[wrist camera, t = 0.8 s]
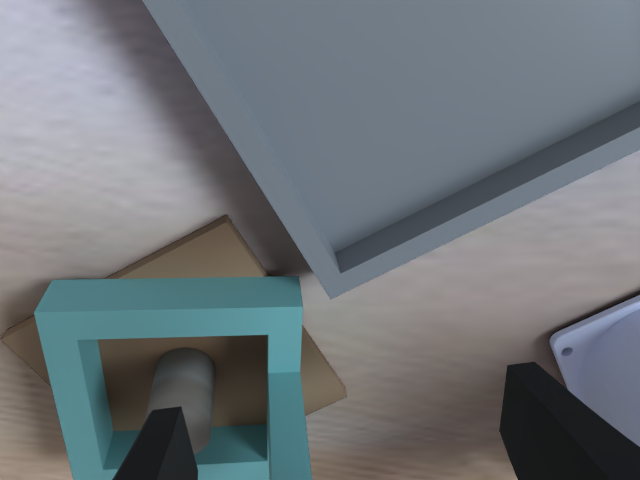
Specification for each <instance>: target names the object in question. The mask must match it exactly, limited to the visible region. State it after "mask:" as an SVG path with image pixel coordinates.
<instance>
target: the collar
mask: <svg viewBox="0 0 640 480" xmlns="http://www.w3.org/2000/svg"><path fill="white" fill-rule="evenodd" d="M34 315H35V320H36V324H37V328H38V332H39V336H40V341H41V345H42V349H43V353H44V357H45V362H46V366H47V370H48V374H49V379H50V383H51V387H52V391H53V395H54V400H55V404H56V408H57V412H58V416H59V421H60V425H61V429H62V433H63V438H64V442H65V446H66V450H67V454H68V459H69V463H70V467H71V471H72V475H73V480H112V479H113V478H114V476H115V474H116V473H117V471H118V469H119V468H120V466H121V464H122V463H123V461H124V459H125V457H126V456H127V454H128V452H129V450H130V449H131V447H132V445H133V443H134V441H135V440H136V438H137V436H138V434H139V432H140V430H131V431H113V426H112V421H111V415H110V409H109V404H108V398H107V392H106V387H105V381H104V375H103V369H102V364H101V358H100V352H99V347H98V341H97V339H129V338H166V337H203V336H240V335H267V416H266V424H263V425H241V426H219V427H211V437H210V440H209V443H208V444H207V446H206V447H205V448H204V449H203V450H201V451H200V452H198V453H196V454H194V457H195V461H196V464H197V468H198V480H312V476H311V466H310V457H309V448H308V439H307V430H306V421H305V412H304V403H303V394H302V384H301V375H300V363H301V340H302V316H303V304H302V296H301V289H300V282H299V276H277V277H210V278H143V279H76V280H52V281H51V283H50V285H49V287H48V288H47V290H46V292H45V294H44V295H43V297H42V299H41V301H40V302H39V304H38V306H37V308H36V309H35V311H34Z"/></svg>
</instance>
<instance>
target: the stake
mask: <svg viewBox="0 0 640 480" xmlns="http://www.w3.org/2000/svg"><path fill="white" fill-rule="evenodd" d="M210 277H269V275H268V274H267V272H266V271H265V270H264V268H263V267H262V265H261V264H260V262H259V261H258V259H257V258H256V256H255V255H254V253H253V252H252V251H251V249H250V248H249V246H248V245H247V243H246V242H245V240H244V239H243V237H242V236H241V234H240V233H239V232H238V230H237V229H236V227H235V226H234V224H233V223H232V221H231V220H230V218H229V217H228V215H226V216H224V217H222V218H220V219H218V220H216V221H214V222H212V223H210V224H208V225H206V226H205V227H203V228H201V229H199V230H197V231H195V232H193V233H191V234H189V235H187V236H185V237H183V238H182V239H180V240H178V241H176V242H174V243H172V244H170V245H168V246H166V247H164V248H162V249H161V250H159V251H157V252H155V253H153V254H151V255H149V256H147V257H145V258H143V259H141V260H140V261H138V262H136V263H134V264H132V265H130V266H128V267H126V268H124V269H122V270H120V271H119V272H117V273H115V274H113V275H111V276H109V277H107V278H105V279H143V278H210ZM1 340H2V341H3V342H4V343H5V344H6V345H7V346H8V347H9V348H10V349H11V350H12V351H13V352H15V353H16V354H17V355H18V356H19V357H20V358H21V359H22V360H23V361H24V362H25V363H26V364H27V365H28V366H30V367H31V368H32V369H33V370H34V371H35V372H36V373H37V374H38V375H39V376H40V377H41V378H42V379H43V380H45V381H46V382H47V383H48V384H49V385H50V386H51V383H50V379H49V374H48V370H47V366H46V362H45V357H44V353H43V349H42V345H41V341H40V336H39V332H38V328H37V324H36V320H35V315H34V316H32V317H31V318H29V319H27V320H25V321H23V322H21V323H19V324H17V325H15V326H13V327H11V328H10V329H8V330H6V332H5V334H4V335H3V337H2V339H1ZM97 341H98V347H99V352H100V358H101V364H102V369H103V375H104V381H105V387H106V392H107V398H108V404H109V409H110V415H111V421H112V426H113V431H131V430H141V428H142V426H143V425H144V423H145V421H146V419H147V417H148V415H149V414H150V413H151V411H152V410H156V409H164V408H172V407H180V406H181V407H182V410H183V414H184V418H185V422H186V426H187V430H188V434H189V437H190V441H191V445H192V449H193V453H194V454H196V453H198V452H200V451H201V450H203V449H204V448H205V447H206V446H207V444H208V443H209V440H210V437H211V427H219V426H241V425H263V424H266V416H267V335H240V336H203V337H166V338H129V339H97ZM300 375H301V384H302V394H303V403H304V412H305V416H306V415H308V414H310V413H312V412H314V411H317V410H319V409H321V408H323V407H325V406H328V405H330V404H332V403H334V402H336V401H339V400H341V399H343V398H345V397H347V395H346V390H345V386H344V385H343V384H342V382H341V381H340V379H339V378H338V376H337V375H336V373H335V372H334V370H333V369H332V367H331V366H330V365H329V363H328V362H327V360H326V359H325V357H324V356H323V354H322V353H321V351H320V350H319V348H318V347H317V346H316V344H315V343H314V341H313V340H312V338H311V337H310V335H309V334H308V332H307V331H306V329H305V328H304V327H303V325H302V340H301V363H300Z"/></svg>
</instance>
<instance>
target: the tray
mask: <svg viewBox="0 0 640 480" xmlns="http://www.w3.org/2000/svg"><path fill="white" fill-rule="evenodd" d="M142 1H143V3H144V4H145V6H146V7H147V9H148V11H149V12H150V14H151V15H152V17H153V18H154V20H155V22H156V23H157V25H158V26H159V28H160V30H161V31H162V33H163V34H164V36H165V38H166V39H167V41H168V42H169V44H170V45H171V47H172V49H173V50H174V52H175V53H176V55H177V57H178V58H179V60H180V61H181V63H182V65H183V66H184V68H185V69H186V71H187V72H188V74H189V76H190V77H191V79H192V80H193V82H194V84H195V85H196V87H197V88H198V90H199V91H200V93H201V95H202V96H203V98H204V99H205V101H206V103H207V104H208V106H209V107H210V109H211V111H212V112H213V114H214V115H215V117H216V118H217V120H218V122H219V123H220V125H221V126H222V128H223V130H224V131H225V133H226V134H227V136H228V138H229V139H230V141H231V142H232V144H233V145H234V147H235V149H236V150H237V152H238V153H239V155H240V157H241V158H242V160H243V161H244V163H245V165H246V166H247V168H248V169H249V171H250V172H251V174H252V176H253V177H254V179H255V180H256V182H257V184H258V185H259V187H260V188H261V190H262V191H263V193H264V195H265V196H266V198H267V199H268V201H269V203H270V204H271V206H272V207H273V209H274V211H275V212H276V214H277V215H278V217H279V218H280V220H281V222H282V223H283V225H284V226H285V228H286V230H287V231H288V233H289V234H290V236H291V238H292V239H293V241H294V242H295V244H296V245H297V247H298V249H299V250H300V252H301V253H302V255H303V257H304V258H305V260H306V261H307V263H308V265H309V266H310V268H311V269H312V271H313V272H314V274H315V276H316V277H317V279H318V280H319V282H320V284H321V285H322V287H323V288H324V290H325V291H326V293H327V295H328V296H329V298H330V299H332V298H335V297H337V296H339V295H341V294H343V293H345V292H347V291H349V290H351V289H353V288H355V287H357V286H359V285H361V284H363V283H365V282H368V281H370V280H372V279H374V278H376V277H378V276H380V275H382V274H384V273H386V272H388V271H390V270H392V269H394V268H396V267H398V266H401V265H403V264H405V263H407V262H409V261H411V260H413V259H415V258H417V257H419V256H421V255H423V254H425V253H427V252H429V251H432V250H434V249H436V248H438V247H440V246H442V245H444V244H446V243H448V242H450V241H452V240H454V239H456V238H458V237H460V236H462V235H465V234H467V233H469V232H471V231H473V230H475V229H477V228H479V227H481V226H483V225H485V224H487V223H489V222H491V221H493V220H495V219H498V218H500V217H502V216H504V215H506V214H508V213H510V212H512V211H514V210H516V209H518V208H520V207H522V206H524V205H526V204H528V203H531V202H533V201H535V200H537V199H539V198H541V197H543V196H545V195H547V194H549V193H551V192H553V191H555V190H557V189H559V188H561V187H564V186H566V185H568V184H570V183H572V182H574V181H576V180H578V179H580V178H582V177H584V176H586V175H588V174H590V173H592V172H594V171H597V170H599V169H601V168H603V167H605V166H607V165H609V164H611V163H613V162H615V161H617V160H619V159H621V158H623V157H625V156H627V155H630V154H632V153H634V152H636V151H638V150H640V0H142Z"/></svg>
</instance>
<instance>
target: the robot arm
mask: <svg viewBox="0 0 640 480" xmlns="http://www.w3.org/2000/svg"><path fill="white" fill-rule="evenodd" d="M550 346H551V348H552V351H553V353H554V356H555V359H556V361H557V364H558V366H559V369H560V371H561V374H562V376H563V379H564V382H565V384H566V387H567V389H568V390H567V389H566V388H565V387H564V386H563V385H561V384H560V383H559V382H558V381H557V380H555V379H554V378H553V377H552V376H551V375H549V374H548V373H547V372H546V371H545V370H543V369H542V368H541V367H540V366H539V365H537V364H536V363H535V362H529V363H522V364H514V365H508V366H507V374H506V382H505V390H504V398H503V406H502V414H501V423H500V433H501V436H502V439H503V442H504V445H505V447H506V450H507V453H508V456H509V458H510V461H511V463H512V466H513V469H514V471H515V474H516V476H517V478H518V480H640V295H638V296H636V297H634V298H631V299H629V300H627V301H625V302H623V303H620V304H618V305H616V306H614V307H611V308H609V309H607V310H605V311H602V312H600V313H598V314H596V315H594V316H591V317H589V318H587V319H585V320H582V321H580V322H578V323H576V324H573V325H571V326H569V327H567V328H565V329H562V330H560V331H558V332H556V333H554V334H553V335H552V337H551V338H550ZM565 348H566V349H565ZM563 349H565V350H563ZM112 480H198V468H197V464H196V461H195V457H194V453H193V449H192V445H191V441H190V437H189V434H188V430H187V426H186V422H185V418H184V414H183V410H182V407H181V406H180V407H172V408H164V409H156V410H152V411H151V413H150V414H149V415H148V417H147V419H146V421H145V423H144V425H143V426H142V428H141V430H140V432H139V434H138V436H137V438H136V440H135V441H134V443H133V445H132V447H131V449H130V450H129V452H128V454H127V456H126V457H125V459H124V461H123V463H122V464H121V466H120V468H119V469H118V471H117V473H116V474H115V476H114V478H113V479H112Z"/></svg>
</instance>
